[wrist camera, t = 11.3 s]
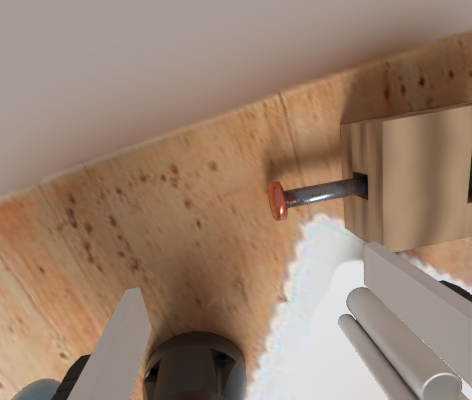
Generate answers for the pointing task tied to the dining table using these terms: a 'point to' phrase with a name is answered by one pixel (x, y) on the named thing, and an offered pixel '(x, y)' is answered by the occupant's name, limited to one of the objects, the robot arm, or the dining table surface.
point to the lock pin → (312, 194)
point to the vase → (396, 352)
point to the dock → (410, 177)
